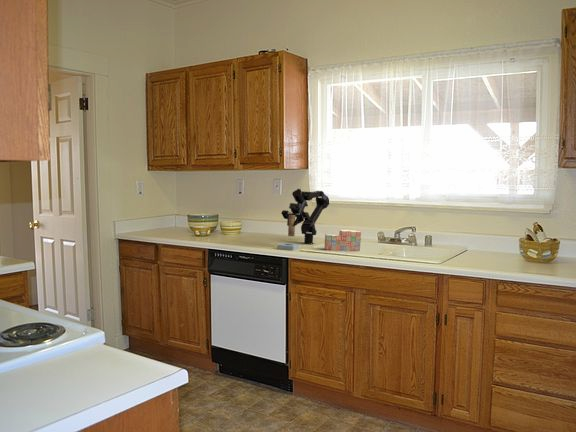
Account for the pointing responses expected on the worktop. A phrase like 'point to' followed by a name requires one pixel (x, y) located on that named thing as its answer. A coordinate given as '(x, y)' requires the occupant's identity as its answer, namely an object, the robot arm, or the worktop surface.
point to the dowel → (291, 225)
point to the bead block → (288, 246)
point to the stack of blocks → (343, 241)
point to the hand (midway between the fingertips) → (290, 225)
